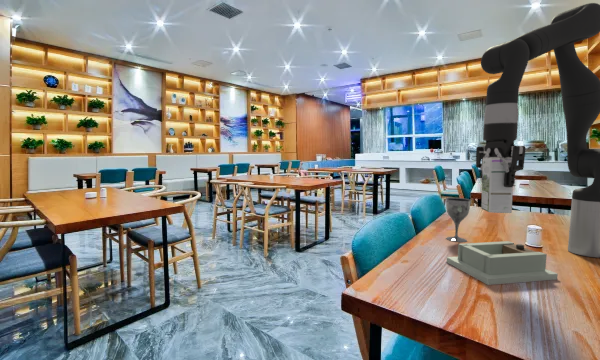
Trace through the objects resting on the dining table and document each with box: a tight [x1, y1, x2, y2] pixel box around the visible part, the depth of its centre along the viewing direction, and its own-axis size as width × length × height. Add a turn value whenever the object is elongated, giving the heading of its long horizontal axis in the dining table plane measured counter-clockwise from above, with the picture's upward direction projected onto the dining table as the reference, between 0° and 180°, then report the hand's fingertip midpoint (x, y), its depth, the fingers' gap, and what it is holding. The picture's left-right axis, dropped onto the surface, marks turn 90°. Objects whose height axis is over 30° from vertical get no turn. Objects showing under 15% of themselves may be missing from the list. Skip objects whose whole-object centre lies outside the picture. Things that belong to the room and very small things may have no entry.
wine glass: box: [445, 197, 471, 243], centre depth 116 cm, size 8×8×15 cm
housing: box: [446, 240, 559, 286], centre depth 86 cm, size 20×16×6 cm
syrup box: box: [480, 157, 514, 214], centre depth 84 cm, size 6×6×14 cm
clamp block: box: [502, 243, 536, 254], centre depth 87 cm, size 4×7×5 cm, turn 10°
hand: (496, 185), depth 84 cm, fingers closed on syrup box, 7 cm apart
